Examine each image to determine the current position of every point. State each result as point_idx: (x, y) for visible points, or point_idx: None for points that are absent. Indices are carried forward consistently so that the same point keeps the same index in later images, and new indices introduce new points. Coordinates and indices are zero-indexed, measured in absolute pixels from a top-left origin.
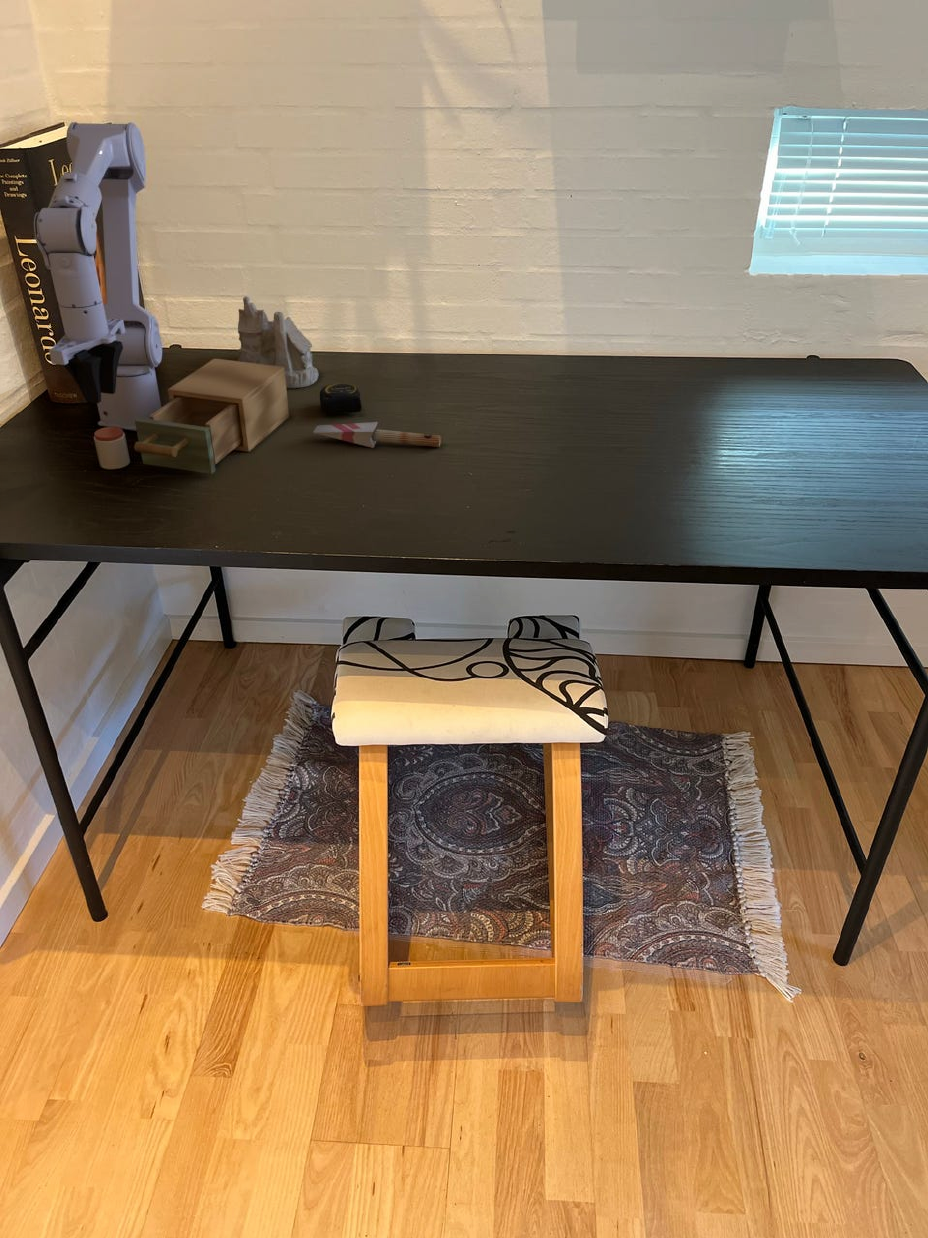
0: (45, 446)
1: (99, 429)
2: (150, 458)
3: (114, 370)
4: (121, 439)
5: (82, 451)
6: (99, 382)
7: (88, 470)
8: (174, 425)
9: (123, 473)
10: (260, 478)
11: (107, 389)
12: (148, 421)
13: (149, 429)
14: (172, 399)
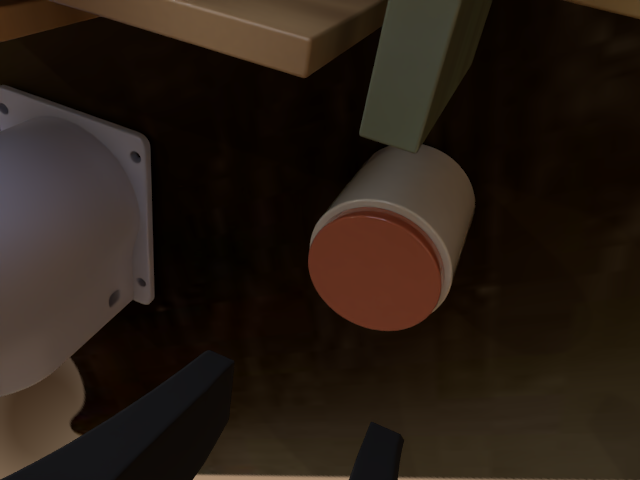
0: (309, 409)
1: (346, 316)
2: (483, 19)
3: (92, 470)
4: (405, 204)
5: (326, 318)
6: (191, 473)
7: (482, 281)
8: None
9: (518, 143)
10: None
11: (216, 405)
12: (427, 40)
13: (461, 23)
14: (15, 14)
